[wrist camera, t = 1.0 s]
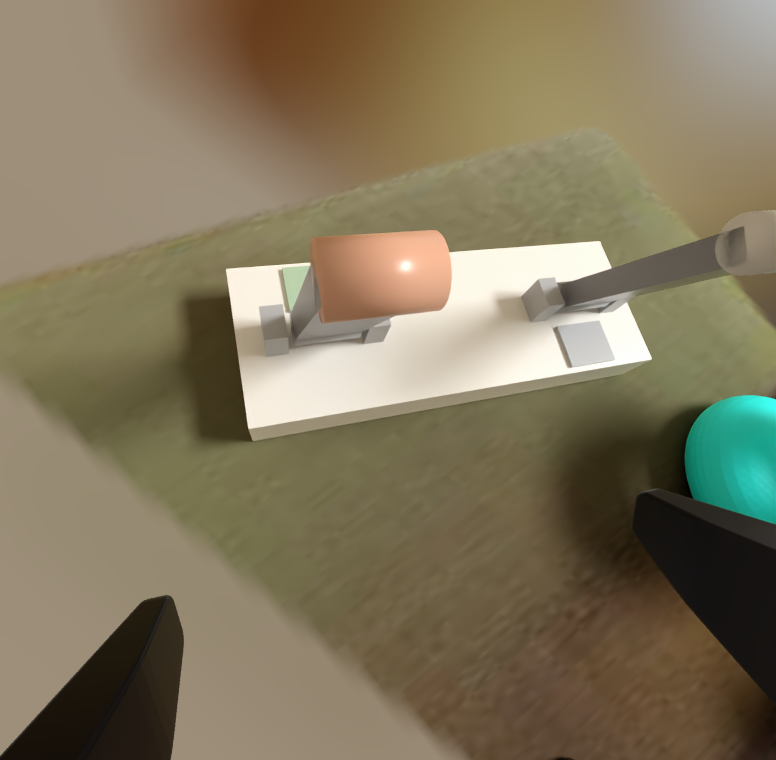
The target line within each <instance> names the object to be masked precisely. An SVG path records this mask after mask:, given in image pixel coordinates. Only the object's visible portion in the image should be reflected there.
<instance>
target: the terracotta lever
mask: <svg viewBox="0 0 776 760" xmlns="http://www.w3.org/2000/svg"><path fill="white" fill-rule="evenodd" d="M451 282H452V268H451V259H450V254H449V250H448V246H447V244H446V241H445V239H444V237H443V236H442V235H441V234H440V232H438V231H436V230H428V231H411V232H394V233H376V234H359V235H342V236H325V237H312V239H311V243H310V267H309V270H308V272H307V275H306V277H305V280H304V282H303V285H302V287H301V290H300V292H299V295H298V297H297V300H296V302H295V305H294V307H293V310H290V324H291V331H292V337H293V341H294V345H295V346H298V345H306V344H314V343H321V342H329V341H337V340H345V339H353V338H360V337H361V334H362V332H363V331H365V330H367V329H369V328H371V327H373V326H375V325H377V324H380V323H382V322H384V321H386V320H388V319H390V318H392V317H394V316H398V315H407V314H416V313H425V312H433V311H440V310H442V309H443V308H444V307H445V305H446V303H447V301H448V298H449V295H450V290H451Z"/></svg>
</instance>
